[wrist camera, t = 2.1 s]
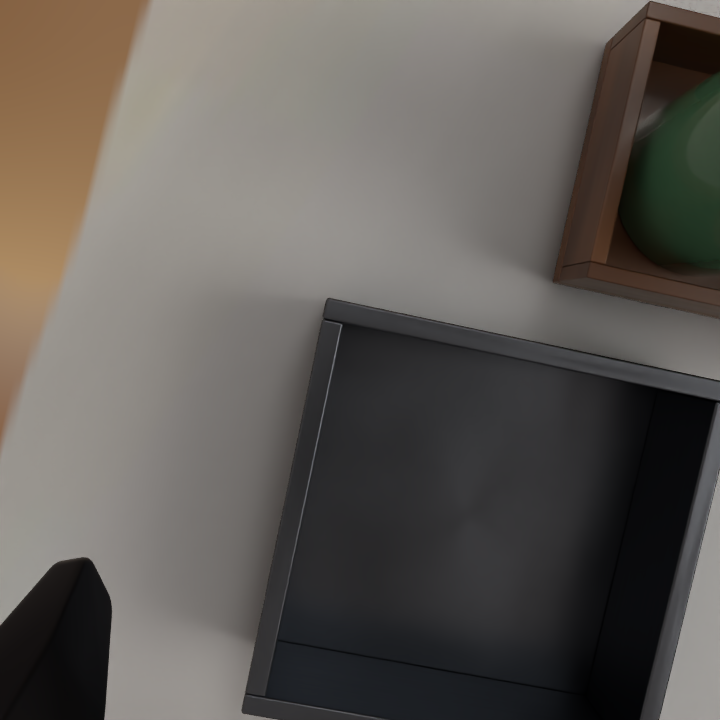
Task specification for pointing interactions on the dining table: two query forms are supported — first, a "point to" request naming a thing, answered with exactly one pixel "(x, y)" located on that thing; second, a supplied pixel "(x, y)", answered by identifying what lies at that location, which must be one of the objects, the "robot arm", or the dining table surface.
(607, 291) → the wooden box
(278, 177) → the dining table surface
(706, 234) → the green corked bottle
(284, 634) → the tray
